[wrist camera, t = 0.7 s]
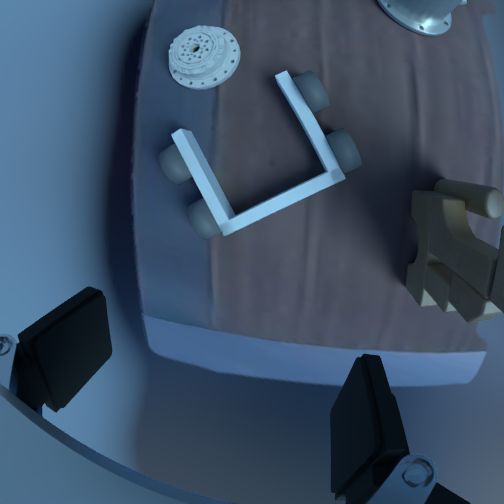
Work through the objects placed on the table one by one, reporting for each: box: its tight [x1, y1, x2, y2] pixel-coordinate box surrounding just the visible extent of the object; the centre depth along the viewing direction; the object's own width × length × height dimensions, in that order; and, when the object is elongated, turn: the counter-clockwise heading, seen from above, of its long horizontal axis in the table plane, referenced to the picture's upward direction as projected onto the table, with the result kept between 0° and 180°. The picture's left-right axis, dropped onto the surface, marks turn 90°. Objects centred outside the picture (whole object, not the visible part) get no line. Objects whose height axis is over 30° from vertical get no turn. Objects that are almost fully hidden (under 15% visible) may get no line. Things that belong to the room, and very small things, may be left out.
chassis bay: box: [158, 70, 362, 240], centre depth 32 cm, size 21×14×5 cm
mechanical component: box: [168, 25, 241, 90], centre depth 29 cm, size 10×4×10 cm
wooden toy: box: [405, 179, 504, 323], centre depth 21 cm, size 15×7×25 cm, turn 4°
